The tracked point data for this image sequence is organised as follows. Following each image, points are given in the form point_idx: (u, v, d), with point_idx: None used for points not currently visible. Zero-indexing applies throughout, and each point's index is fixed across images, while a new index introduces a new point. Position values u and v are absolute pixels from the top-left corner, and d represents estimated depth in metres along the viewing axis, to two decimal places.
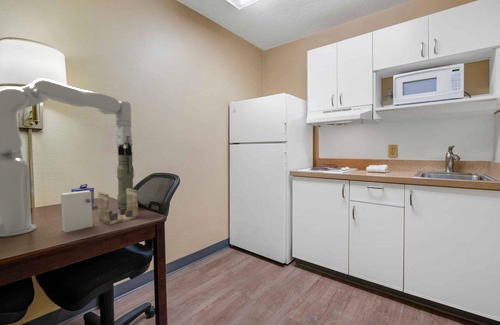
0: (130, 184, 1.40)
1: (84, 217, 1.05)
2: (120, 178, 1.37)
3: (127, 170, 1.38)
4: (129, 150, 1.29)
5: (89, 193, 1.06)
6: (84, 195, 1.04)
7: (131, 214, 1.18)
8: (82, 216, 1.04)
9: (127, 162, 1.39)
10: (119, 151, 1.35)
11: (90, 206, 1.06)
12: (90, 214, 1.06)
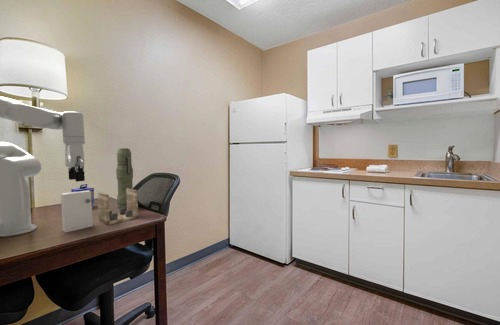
0: (130, 184, 1.40)
1: (84, 217, 1.05)
2: (119, 179, 1.37)
3: (126, 170, 1.37)
4: (80, 174, 0.99)
5: (89, 193, 1.06)
6: (84, 195, 1.04)
7: (131, 214, 1.18)
8: (82, 216, 1.04)
9: (126, 162, 1.38)
10: (70, 175, 1.05)
11: (90, 206, 1.06)
12: (90, 214, 1.06)
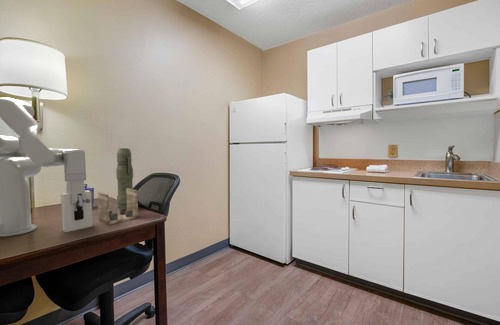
0: (130, 184, 1.40)
1: (84, 217, 1.05)
2: (119, 179, 1.37)
3: (126, 171, 1.37)
4: (79, 213, 1.02)
5: (89, 193, 1.06)
6: None
7: (131, 214, 1.18)
8: None
9: (126, 162, 1.38)
10: None
11: (90, 206, 1.06)
12: (90, 214, 1.06)
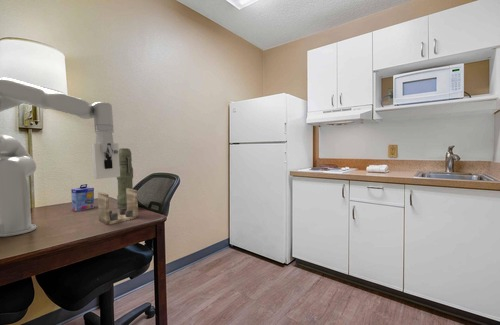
0: (130, 184, 1.40)
1: (113, 167, 1.12)
2: (119, 179, 1.37)
3: (126, 171, 1.37)
4: (109, 162, 1.10)
5: (116, 145, 1.13)
6: None
7: (131, 214, 1.18)
8: None
9: (126, 162, 1.38)
10: None
11: (118, 157, 1.14)
12: (118, 165, 1.14)
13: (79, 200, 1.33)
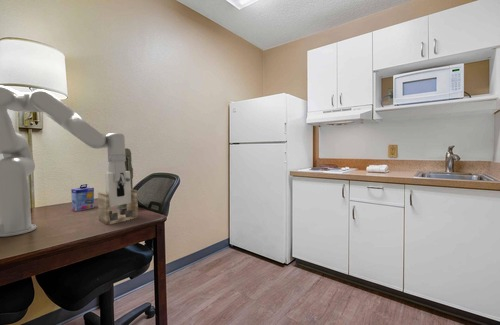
0: None
1: (125, 194, 1.17)
2: None
3: None
4: (121, 191, 1.15)
5: (128, 173, 1.18)
6: None
7: (131, 214, 1.18)
8: None
9: (126, 162, 1.38)
10: None
11: (129, 184, 1.19)
12: (129, 192, 1.19)
13: (79, 200, 1.33)
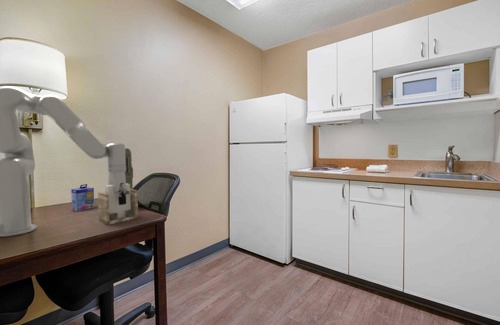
0: (130, 184, 1.40)
1: (124, 207, 1.17)
2: None
3: (126, 171, 1.37)
4: (123, 199, 1.13)
5: (128, 185, 1.18)
6: None
7: (131, 214, 1.18)
8: (122, 206, 1.17)
9: (126, 162, 1.38)
10: None
11: (129, 197, 1.19)
12: (129, 204, 1.19)
13: (79, 200, 1.33)
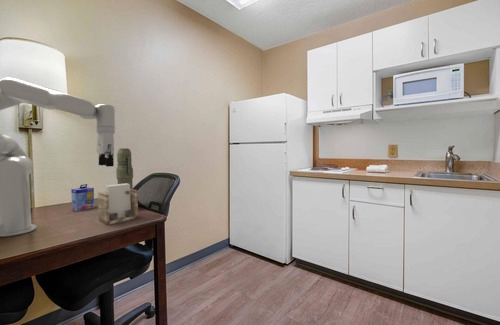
0: (130, 184, 1.40)
1: (124, 207, 1.17)
2: (119, 179, 1.37)
3: (126, 171, 1.37)
4: (110, 160, 1.12)
5: (128, 185, 1.18)
6: (124, 187, 1.17)
7: (131, 214, 1.18)
8: (122, 206, 1.17)
9: (126, 162, 1.38)
10: (100, 161, 1.18)
11: (129, 197, 1.19)
12: (129, 204, 1.19)
13: (79, 200, 1.33)
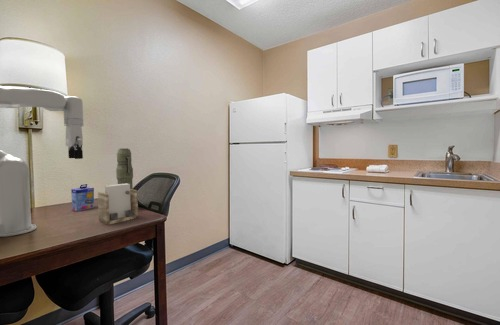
0: (130, 184, 1.40)
1: (124, 207, 1.17)
2: (119, 179, 1.37)
3: (126, 171, 1.37)
4: (79, 153, 1.11)
5: (128, 185, 1.18)
6: (124, 187, 1.17)
7: (131, 214, 1.18)
8: (122, 206, 1.17)
9: (126, 162, 1.38)
10: (70, 154, 1.17)
11: (129, 197, 1.19)
12: (129, 204, 1.19)
13: (79, 200, 1.33)
